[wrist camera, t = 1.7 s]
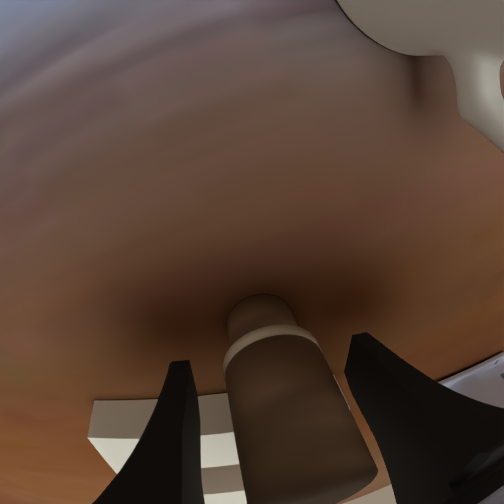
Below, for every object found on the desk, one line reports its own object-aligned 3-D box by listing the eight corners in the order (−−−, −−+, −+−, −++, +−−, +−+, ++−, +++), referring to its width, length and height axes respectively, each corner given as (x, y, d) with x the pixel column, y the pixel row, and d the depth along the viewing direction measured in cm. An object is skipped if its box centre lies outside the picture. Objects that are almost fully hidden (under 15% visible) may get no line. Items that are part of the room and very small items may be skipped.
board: (333, 374, 16) (350, 408, 14) (302, 496, 25) (308, 515, 23) (94, 400, 14) (87, 437, 12) (173, 511, 23) (175, 532, 21)
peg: (302, 280, 13) (395, 447, 6) (298, 345, 15) (361, 497, 8) (212, 291, 13) (243, 487, 6) (220, 357, 14) (249, 523, 7)
